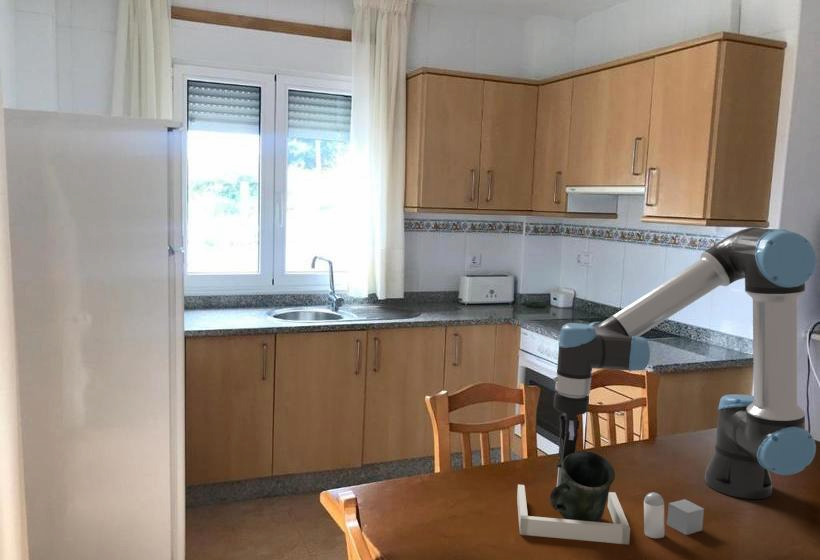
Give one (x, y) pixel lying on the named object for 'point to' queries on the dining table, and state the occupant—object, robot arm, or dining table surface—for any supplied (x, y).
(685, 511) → the grey box
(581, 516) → the mug
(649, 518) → the cylinder
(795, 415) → the robot arm
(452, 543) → the dining table surface
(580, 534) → the corral
